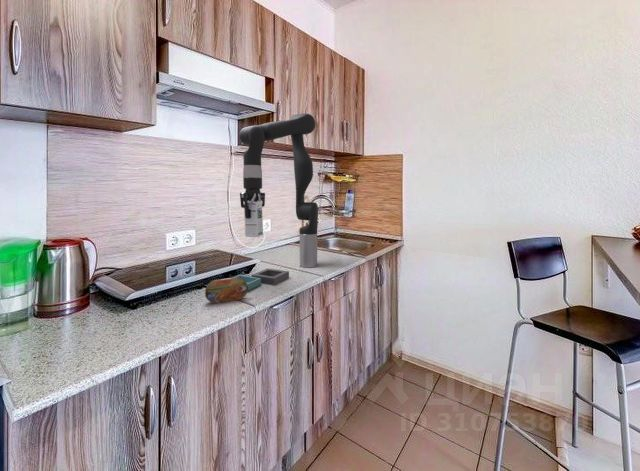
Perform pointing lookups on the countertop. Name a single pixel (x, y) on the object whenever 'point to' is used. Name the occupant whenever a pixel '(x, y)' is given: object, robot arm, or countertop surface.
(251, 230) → the syrup box
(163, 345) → the countertop surface
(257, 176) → the robot arm
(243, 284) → the tin
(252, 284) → the parts tray
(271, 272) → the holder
